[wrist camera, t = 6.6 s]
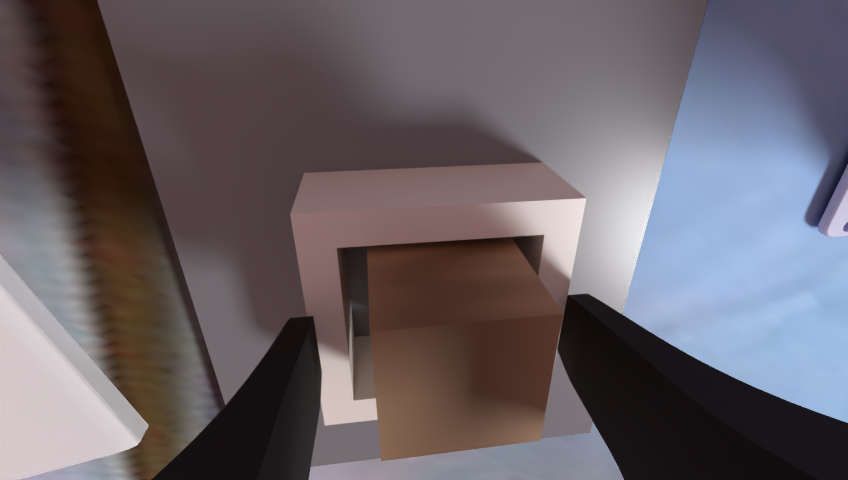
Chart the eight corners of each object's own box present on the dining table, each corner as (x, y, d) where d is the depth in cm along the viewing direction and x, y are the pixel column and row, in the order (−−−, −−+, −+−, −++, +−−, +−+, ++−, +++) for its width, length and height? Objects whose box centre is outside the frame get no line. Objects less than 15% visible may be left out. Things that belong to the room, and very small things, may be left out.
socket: (707, -69, 12) (840, -99, 9) (582, 418, 21) (622, 493, 18) (88, -84, 10) (-45, -130, 7) (251, 457, 20) (229, 549, 16)
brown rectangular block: (487, 201, 14) (562, 314, 9) (481, 299, 16) (540, 440, 11) (365, 209, 14) (369, 332, 8) (373, 309, 16) (381, 460, 10)
